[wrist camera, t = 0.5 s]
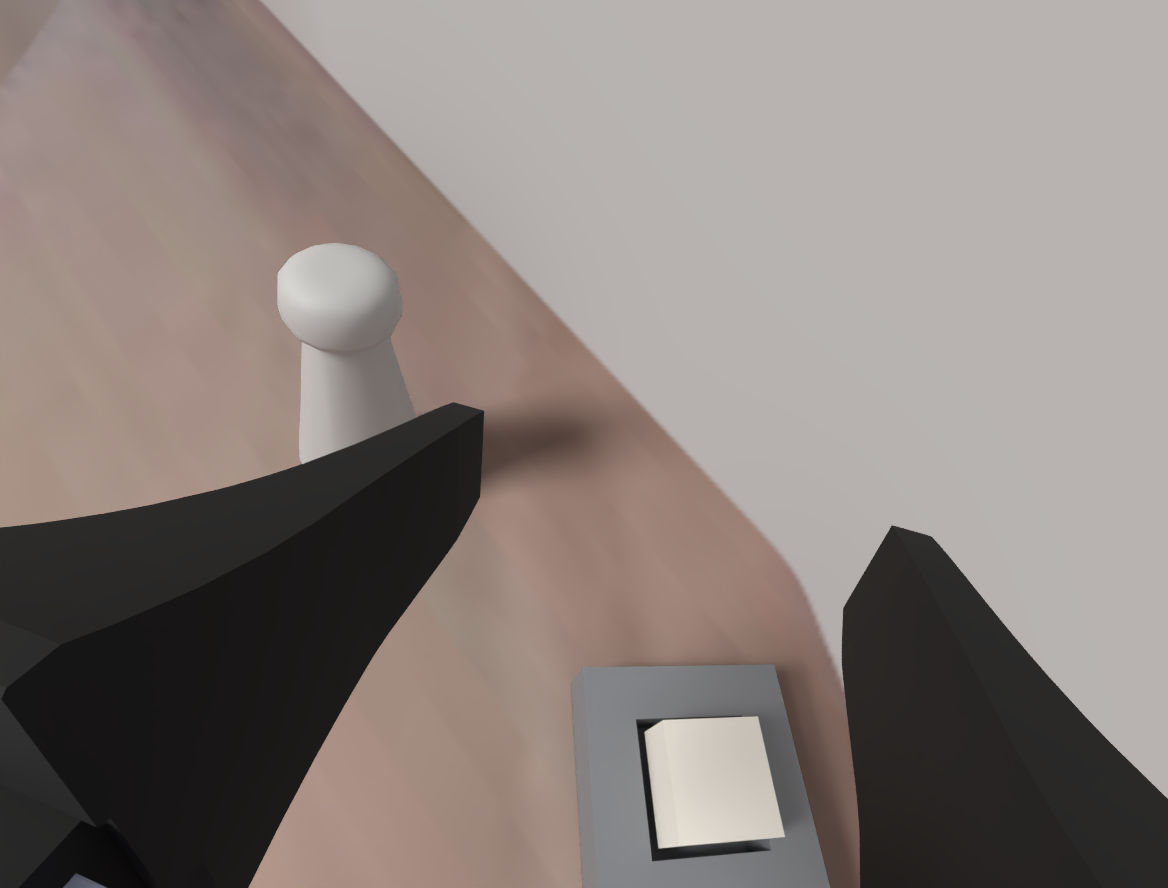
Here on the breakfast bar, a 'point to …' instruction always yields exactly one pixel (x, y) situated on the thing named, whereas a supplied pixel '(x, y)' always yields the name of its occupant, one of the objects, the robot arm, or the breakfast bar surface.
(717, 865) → the key panel
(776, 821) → the cream key
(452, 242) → the breakfast bar surface
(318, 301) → the salt shaker
